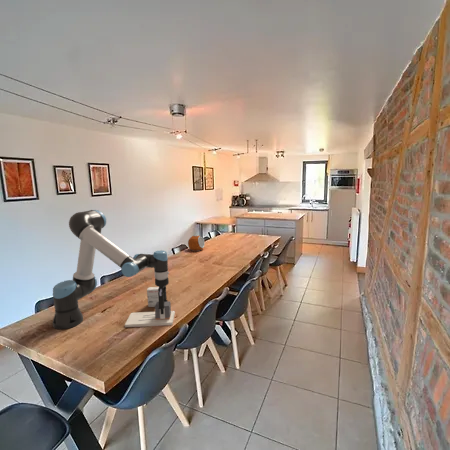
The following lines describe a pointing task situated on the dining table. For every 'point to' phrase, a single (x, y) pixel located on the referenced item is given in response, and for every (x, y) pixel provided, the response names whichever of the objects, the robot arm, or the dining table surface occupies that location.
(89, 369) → the dining table surface
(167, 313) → the block
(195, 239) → the alarm clock
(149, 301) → the ink box
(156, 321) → the board
